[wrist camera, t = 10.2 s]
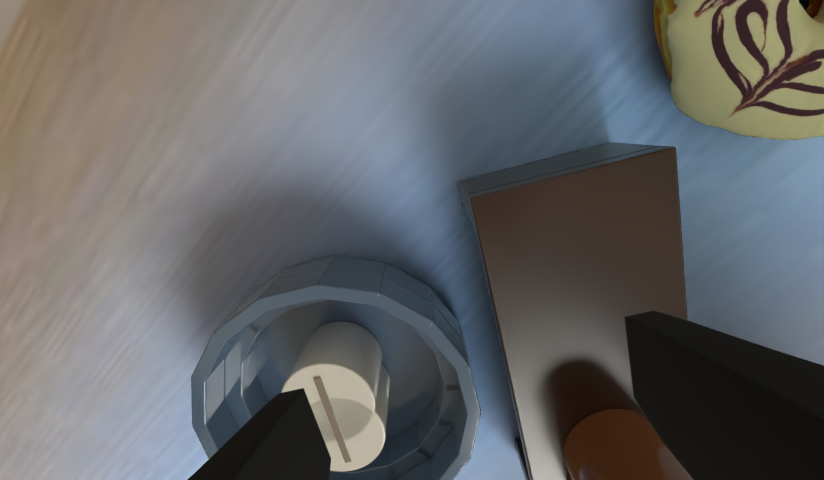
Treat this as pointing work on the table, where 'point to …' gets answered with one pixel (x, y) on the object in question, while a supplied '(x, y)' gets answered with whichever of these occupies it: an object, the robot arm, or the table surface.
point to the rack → (575, 280)
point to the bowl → (401, 356)
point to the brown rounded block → (619, 449)
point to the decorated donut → (746, 64)
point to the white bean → (345, 392)
